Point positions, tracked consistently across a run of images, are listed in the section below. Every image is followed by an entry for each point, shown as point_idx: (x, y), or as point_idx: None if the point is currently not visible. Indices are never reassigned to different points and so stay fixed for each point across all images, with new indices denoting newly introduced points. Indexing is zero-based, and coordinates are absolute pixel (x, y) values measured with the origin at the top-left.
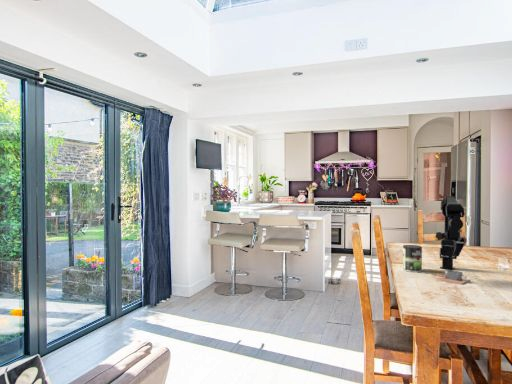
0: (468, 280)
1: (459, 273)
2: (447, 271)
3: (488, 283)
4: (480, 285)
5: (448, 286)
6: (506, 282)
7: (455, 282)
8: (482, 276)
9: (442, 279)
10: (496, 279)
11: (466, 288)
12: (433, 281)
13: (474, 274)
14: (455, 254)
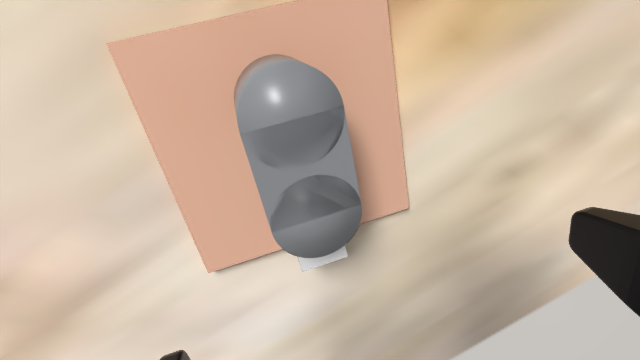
0: (371, 217)
1: (286, 251)
2: (240, 132)
3: (422, 298)
4: (323, 318)
5: (21, 270)
6: (527, 311)
7: (189, 230)
8: (600, 158)
9: (158, 98)
10: (567, 248)
11: (138, 349)
12: (9, 65)
13: (635, 86)
14: None
